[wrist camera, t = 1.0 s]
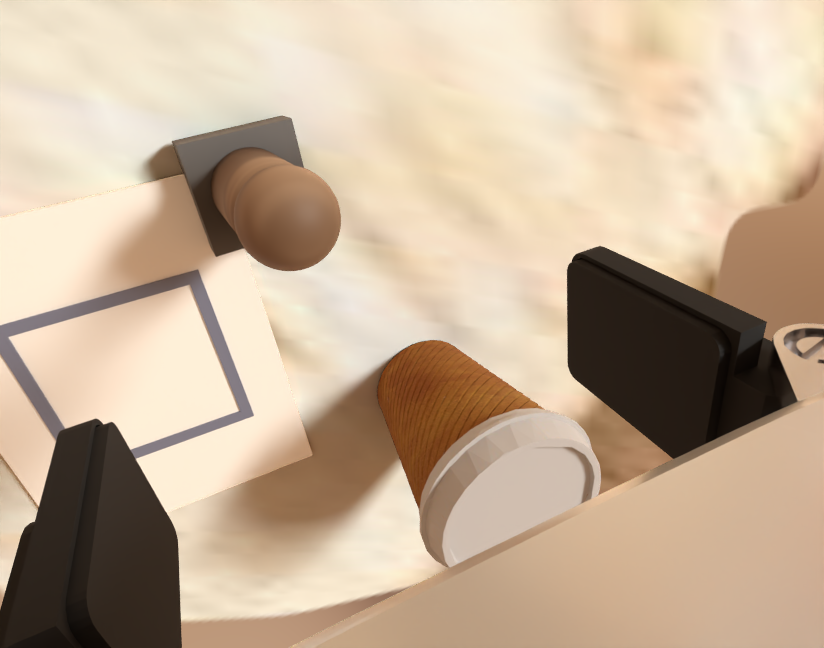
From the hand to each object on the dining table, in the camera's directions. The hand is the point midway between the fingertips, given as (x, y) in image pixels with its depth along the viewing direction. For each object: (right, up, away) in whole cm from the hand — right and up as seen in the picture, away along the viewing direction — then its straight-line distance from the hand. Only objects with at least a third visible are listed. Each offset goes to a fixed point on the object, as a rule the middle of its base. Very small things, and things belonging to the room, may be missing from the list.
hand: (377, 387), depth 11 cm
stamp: (-7, +8, +15) cm, 18 cm away
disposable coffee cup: (+1, -2, +24) cm, 25 cm away
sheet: (-13, -1, +17) cm, 21 cm away
